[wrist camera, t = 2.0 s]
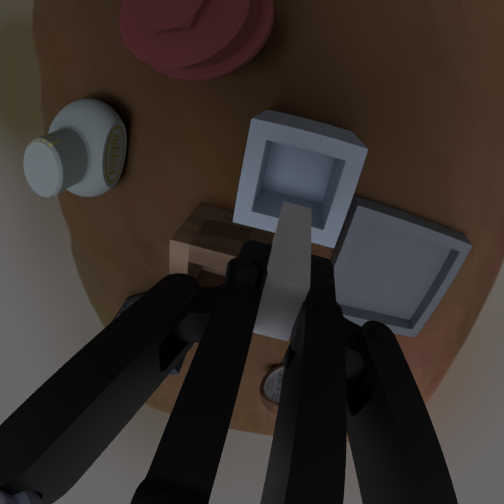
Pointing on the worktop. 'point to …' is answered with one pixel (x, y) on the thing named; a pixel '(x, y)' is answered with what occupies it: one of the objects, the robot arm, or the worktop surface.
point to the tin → (272, 388)
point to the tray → (394, 266)
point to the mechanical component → (196, 34)
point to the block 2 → (298, 173)
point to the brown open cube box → (210, 244)
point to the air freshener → (78, 151)
